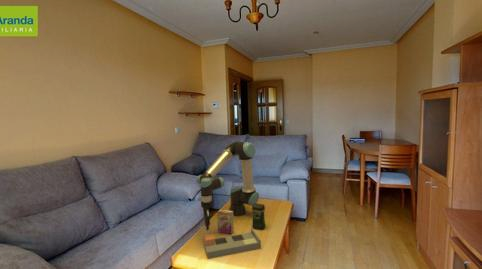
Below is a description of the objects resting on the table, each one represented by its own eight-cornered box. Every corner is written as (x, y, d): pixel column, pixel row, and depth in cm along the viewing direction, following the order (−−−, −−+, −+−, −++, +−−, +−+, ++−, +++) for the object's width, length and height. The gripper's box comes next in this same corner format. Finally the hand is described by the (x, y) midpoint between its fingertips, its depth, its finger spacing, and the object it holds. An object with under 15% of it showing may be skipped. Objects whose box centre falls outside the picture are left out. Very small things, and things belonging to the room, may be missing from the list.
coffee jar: (266, 226, 189) (266, 203, 187) (263, 230, 181) (262, 207, 180) (254, 223, 193) (254, 201, 191) (251, 228, 185) (250, 205, 184)
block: (204, 241, 164) (204, 235, 163) (213, 239, 166) (213, 234, 165) (206, 246, 158) (205, 240, 158) (215, 244, 160) (214, 238, 159)
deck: (203, 244, 165) (203, 236, 164) (252, 235, 175) (252, 228, 174) (207, 258, 149) (207, 250, 148) (260, 248, 159) (260, 240, 158)
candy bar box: (217, 232, 180) (216, 211, 178) (220, 229, 185) (219, 208, 183) (231, 235, 176) (231, 213, 175) (234, 231, 181) (233, 210, 179)
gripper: (199, 198, 172) (200, 230, 174) (202, 204, 159) (203, 239, 162) (210, 197, 174) (211, 228, 176) (213, 203, 162) (214, 237, 164)
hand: (207, 233), depth 169 cm, fingers closed
